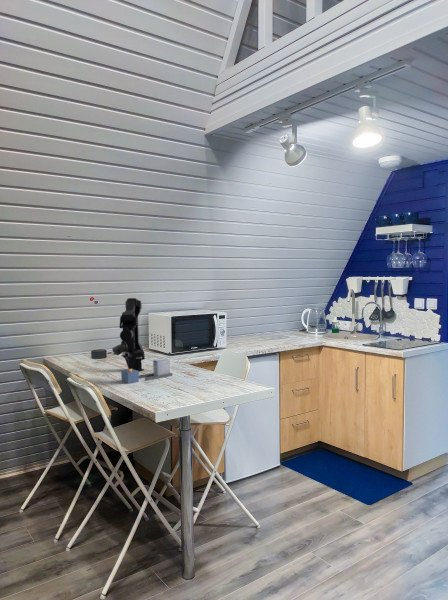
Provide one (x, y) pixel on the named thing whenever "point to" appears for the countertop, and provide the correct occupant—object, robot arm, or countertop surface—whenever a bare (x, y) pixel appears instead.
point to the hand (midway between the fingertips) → (129, 368)
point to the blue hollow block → (130, 376)
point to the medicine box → (161, 366)
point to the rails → (154, 376)
